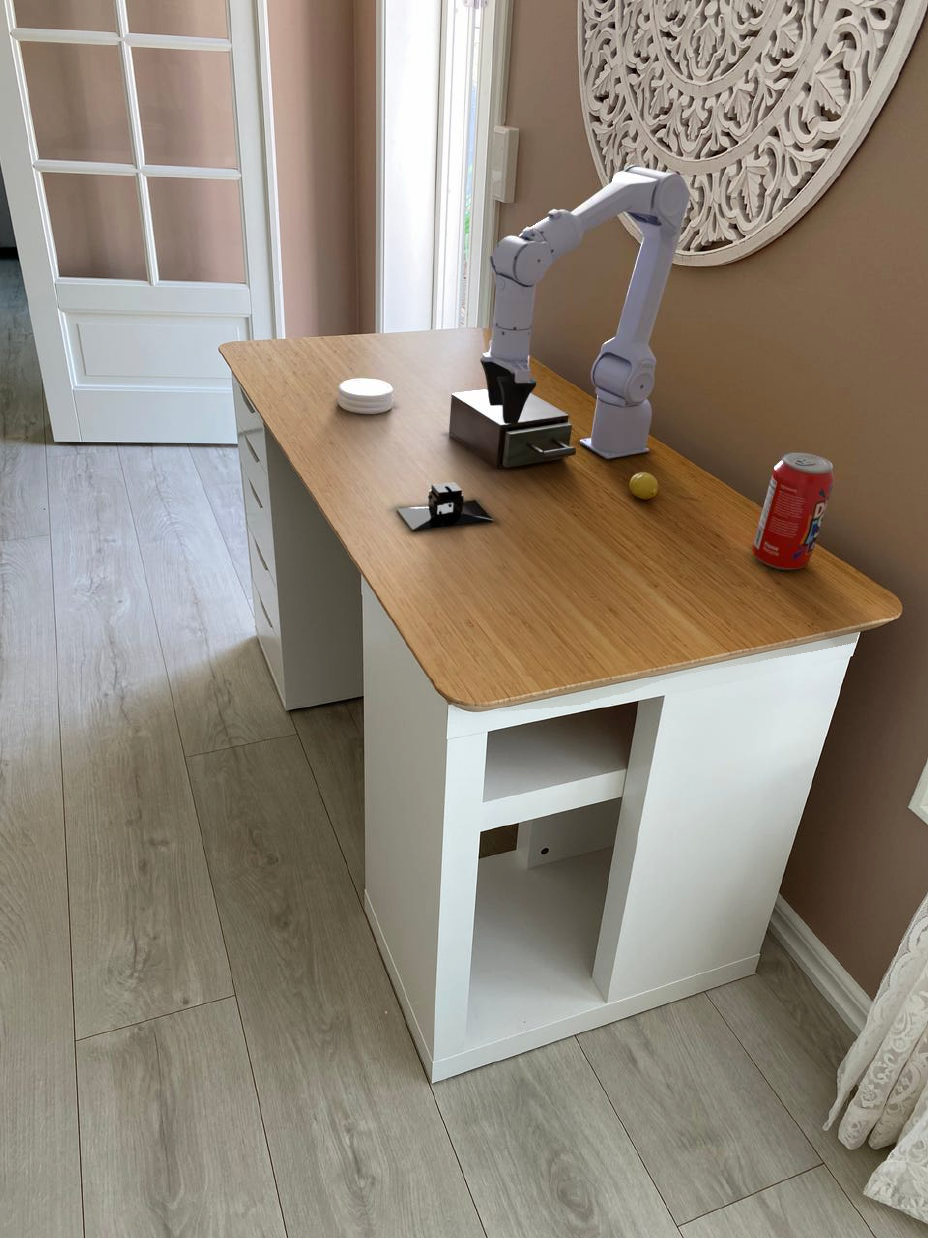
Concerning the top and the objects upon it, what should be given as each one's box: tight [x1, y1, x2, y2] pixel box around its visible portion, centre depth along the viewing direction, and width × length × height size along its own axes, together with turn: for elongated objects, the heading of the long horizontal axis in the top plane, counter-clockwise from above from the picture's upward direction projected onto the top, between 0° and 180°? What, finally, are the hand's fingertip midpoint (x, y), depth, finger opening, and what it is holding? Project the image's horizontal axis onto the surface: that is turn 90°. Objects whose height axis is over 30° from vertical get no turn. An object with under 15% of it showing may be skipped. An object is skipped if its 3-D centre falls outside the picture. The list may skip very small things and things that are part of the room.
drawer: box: [500, 420, 577, 469], centre depth 155 cm, size 20×12×6 cm, turn 31°
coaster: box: [337, 378, 394, 415], centre depth 171 cm, size 10×10×4 cm
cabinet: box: [448, 388, 570, 469], centre depth 159 cm, size 15×13×7 cm
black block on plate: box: [396, 481, 494, 533], centre depth 135 cm, size 12×7×5 cm, turn 112°
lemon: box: [629, 471, 659, 501], centre depth 146 cm, size 6×4×4 cm
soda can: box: [752, 451, 836, 571], centre depth 128 cm, size 8×8×15 cm
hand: (503, 413), depth 146 cm, fingers open, 7 cm apart
